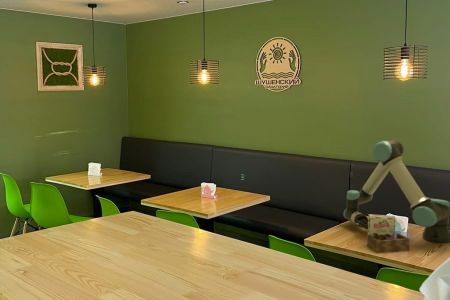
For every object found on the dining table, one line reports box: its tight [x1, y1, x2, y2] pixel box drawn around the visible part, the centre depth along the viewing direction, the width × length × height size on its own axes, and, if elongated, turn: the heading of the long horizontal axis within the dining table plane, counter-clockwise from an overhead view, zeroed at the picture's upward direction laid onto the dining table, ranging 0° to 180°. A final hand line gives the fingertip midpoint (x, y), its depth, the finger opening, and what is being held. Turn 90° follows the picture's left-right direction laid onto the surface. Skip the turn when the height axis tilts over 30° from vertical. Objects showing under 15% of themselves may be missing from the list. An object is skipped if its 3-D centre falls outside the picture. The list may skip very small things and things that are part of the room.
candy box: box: [367, 213, 396, 240], centre depth 251 cm, size 14×6×16 cm, turn 76°
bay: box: [366, 232, 411, 253], centre depth 247 cm, size 19×10×6 cm, turn 101°
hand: (380, 230), depth 255 cm, fingers closed
